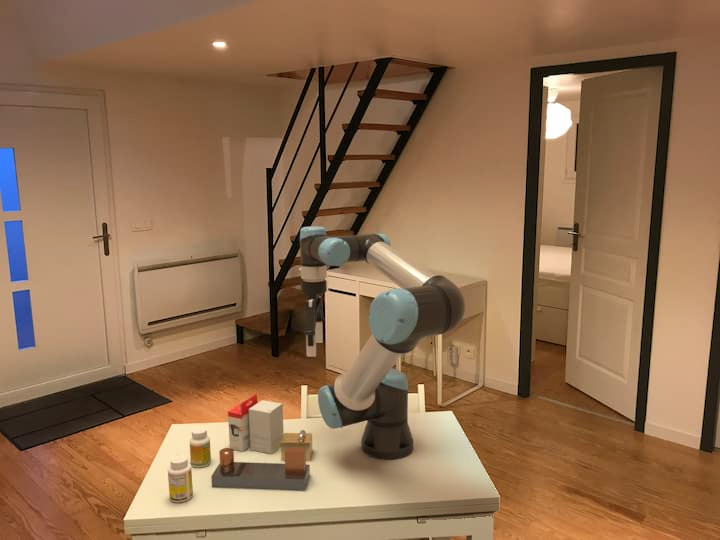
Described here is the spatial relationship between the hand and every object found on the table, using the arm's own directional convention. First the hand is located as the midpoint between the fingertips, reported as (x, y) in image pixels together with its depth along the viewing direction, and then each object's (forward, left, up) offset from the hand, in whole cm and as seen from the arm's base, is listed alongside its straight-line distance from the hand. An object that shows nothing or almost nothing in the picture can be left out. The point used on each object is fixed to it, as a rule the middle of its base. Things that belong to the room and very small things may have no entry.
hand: (315, 349), depth 176 cm
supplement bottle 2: (+29, +21, -27) cm, 45 cm away
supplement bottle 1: (+28, +38, -27) cm, 54 cm away
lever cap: (+3, +15, -27) cm, 31 cm away
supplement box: (+13, +10, -27) cm, 32 cm away
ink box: (+20, +9, -27) cm, 35 cm away
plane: (+10, +29, -27) cm, 41 cm away
